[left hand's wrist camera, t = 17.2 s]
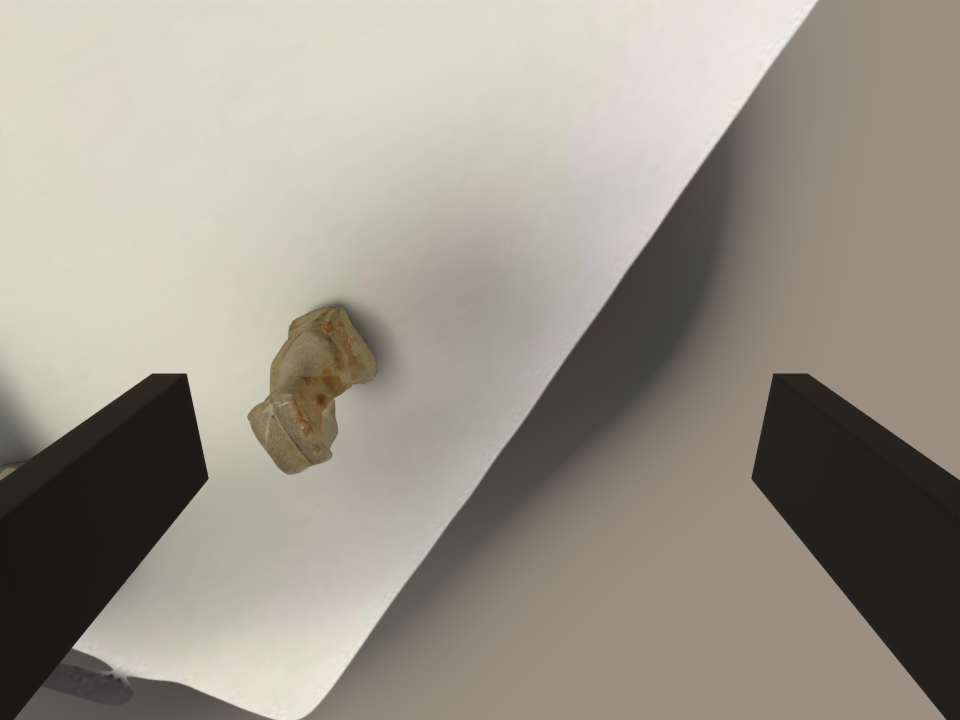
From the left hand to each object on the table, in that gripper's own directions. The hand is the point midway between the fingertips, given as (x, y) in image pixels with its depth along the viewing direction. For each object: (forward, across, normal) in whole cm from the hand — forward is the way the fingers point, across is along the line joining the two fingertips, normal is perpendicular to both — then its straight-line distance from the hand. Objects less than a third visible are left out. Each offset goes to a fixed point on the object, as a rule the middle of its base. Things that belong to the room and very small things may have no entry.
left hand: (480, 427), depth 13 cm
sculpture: (+32, +12, +9) cm, 35 cm away
